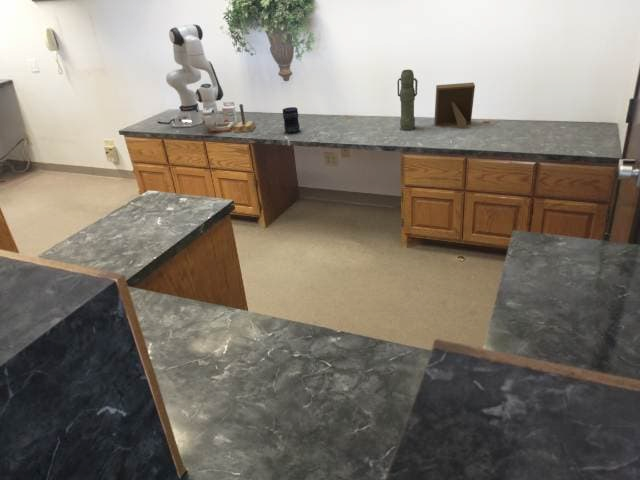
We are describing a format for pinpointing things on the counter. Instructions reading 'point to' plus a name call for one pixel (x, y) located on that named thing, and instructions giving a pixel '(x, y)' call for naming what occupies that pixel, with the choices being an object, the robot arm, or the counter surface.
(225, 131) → the mat
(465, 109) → the photo frame
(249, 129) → the stand
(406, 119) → the thermos
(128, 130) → the counter surface
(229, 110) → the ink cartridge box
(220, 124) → the loop
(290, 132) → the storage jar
